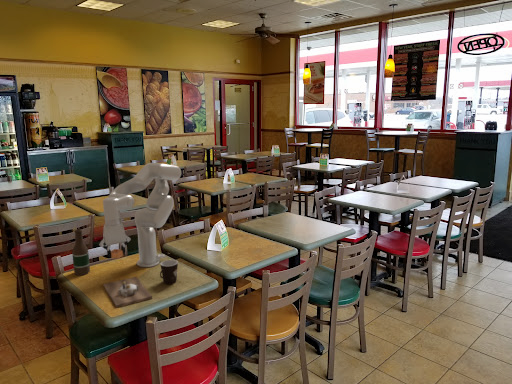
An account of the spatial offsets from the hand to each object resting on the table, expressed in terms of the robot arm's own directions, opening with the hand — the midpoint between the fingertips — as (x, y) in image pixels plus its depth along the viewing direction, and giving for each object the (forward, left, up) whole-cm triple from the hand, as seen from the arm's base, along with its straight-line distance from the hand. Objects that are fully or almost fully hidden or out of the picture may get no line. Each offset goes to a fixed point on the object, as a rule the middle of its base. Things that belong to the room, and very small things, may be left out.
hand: (116, 255), depth 201 cm
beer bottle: (+15, -18, -13) cm, 26 cm away
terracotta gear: (0, 0, -1) cm, 1 cm away
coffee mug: (-19, +19, -13) cm, 30 cm away
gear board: (+1, +19, -12) cm, 23 cm away
